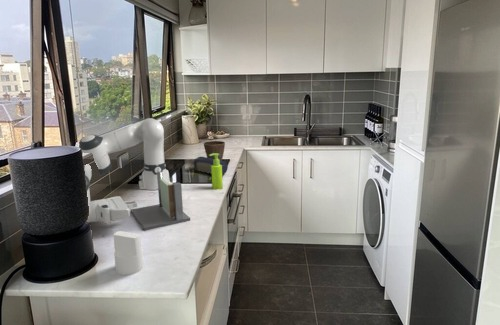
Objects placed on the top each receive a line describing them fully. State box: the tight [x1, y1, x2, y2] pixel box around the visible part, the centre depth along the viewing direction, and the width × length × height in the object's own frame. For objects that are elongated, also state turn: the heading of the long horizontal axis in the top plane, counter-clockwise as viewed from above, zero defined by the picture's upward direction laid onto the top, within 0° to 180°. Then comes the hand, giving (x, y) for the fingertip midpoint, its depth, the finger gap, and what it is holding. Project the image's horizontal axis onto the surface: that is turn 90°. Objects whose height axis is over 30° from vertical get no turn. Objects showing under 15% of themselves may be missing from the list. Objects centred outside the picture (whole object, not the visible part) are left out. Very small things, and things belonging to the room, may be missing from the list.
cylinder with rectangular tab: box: [112, 230, 145, 276], centre depth 119 cm, size 9×9×12 cm
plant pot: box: [203, 140, 226, 161], centre depth 257 cm, size 15×15×16 cm
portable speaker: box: [193, 156, 228, 176], centre depth 236 cm, size 25×10×10 cm, turn 50°
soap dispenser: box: [209, 153, 224, 190], centre depth 203 cm, size 6×7×20 cm
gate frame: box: [130, 171, 191, 231], centre depth 163 cm, size 25×20×18 cm
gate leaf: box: [160, 178, 174, 217], centre depth 164 cm, size 16×2×14 cm, turn 29°
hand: (136, 203), depth 157 cm, fingers closed
